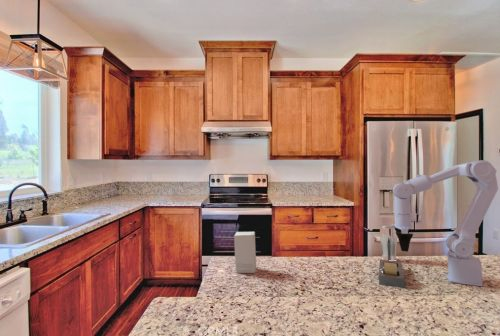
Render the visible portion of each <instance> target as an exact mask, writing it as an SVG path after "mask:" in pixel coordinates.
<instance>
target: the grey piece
mask: <svg viewBox="0 0 500 336" xmlns="http://www.w3.org/2000/svg"><path fill="white" fill-rule="evenodd" d="M384 262H387V263H395V264H396V265H397V276H394V275H387V274H384ZM378 267H379V268H378V270H379V271H378V285H381V286H388V287H396V288H400V289H406V280H405V274H404V269H403V262H402V261H389V260H382V258H381V259H379V266H378Z"/></svg>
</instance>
